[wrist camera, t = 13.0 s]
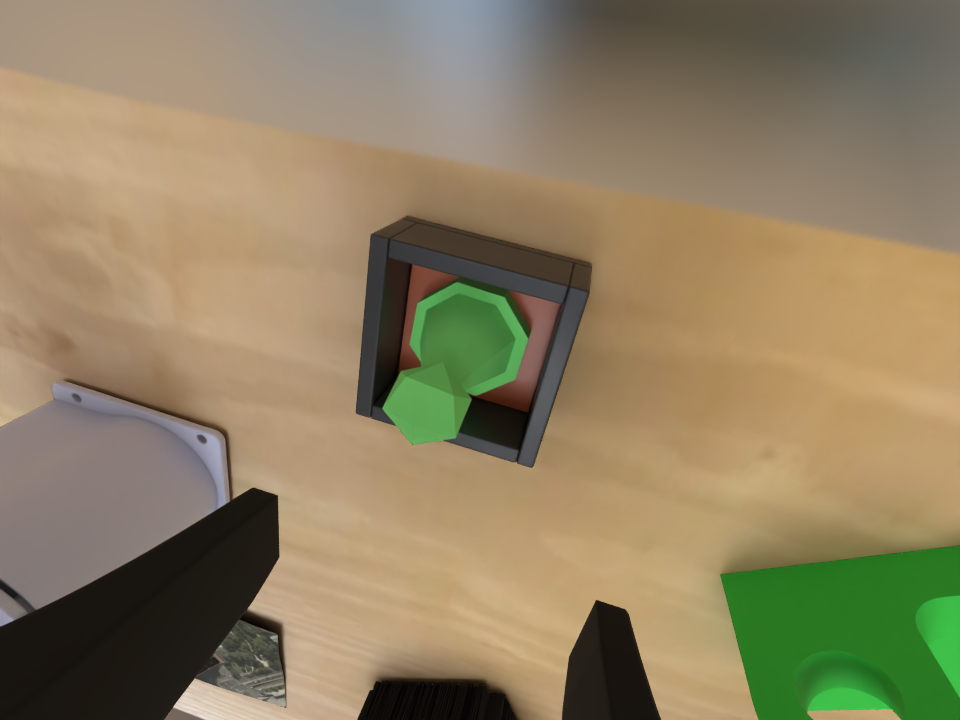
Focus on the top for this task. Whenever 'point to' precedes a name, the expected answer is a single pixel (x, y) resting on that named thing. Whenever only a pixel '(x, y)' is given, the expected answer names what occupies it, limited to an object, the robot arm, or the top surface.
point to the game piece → (456, 357)
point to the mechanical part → (852, 635)
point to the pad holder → (522, 270)
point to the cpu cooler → (434, 702)
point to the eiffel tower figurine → (247, 664)
